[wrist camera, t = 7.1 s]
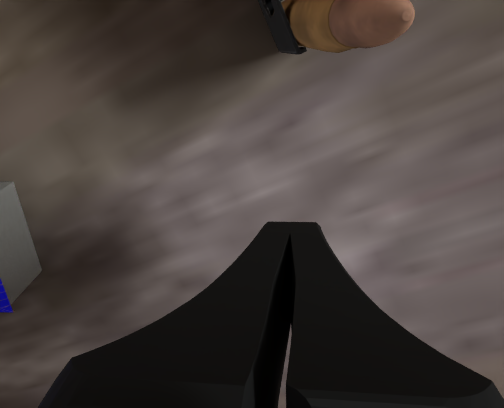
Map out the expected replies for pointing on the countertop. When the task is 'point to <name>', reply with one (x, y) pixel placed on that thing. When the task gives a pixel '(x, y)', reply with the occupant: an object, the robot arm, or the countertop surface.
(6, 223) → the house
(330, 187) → the countertop surface
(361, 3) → the ammunition clip
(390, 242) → the countertop surface
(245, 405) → the robot arm
